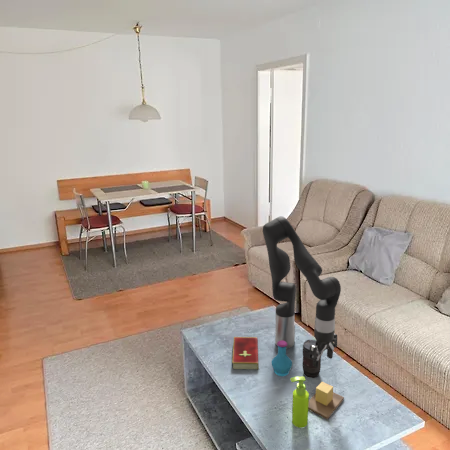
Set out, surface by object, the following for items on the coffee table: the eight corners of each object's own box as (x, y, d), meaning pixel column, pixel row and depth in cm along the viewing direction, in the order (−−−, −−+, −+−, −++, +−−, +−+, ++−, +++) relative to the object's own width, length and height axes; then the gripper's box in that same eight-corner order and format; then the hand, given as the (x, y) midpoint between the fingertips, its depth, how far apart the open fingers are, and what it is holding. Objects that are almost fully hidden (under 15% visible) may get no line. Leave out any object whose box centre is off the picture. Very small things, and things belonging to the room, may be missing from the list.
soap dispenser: (287, 417, 157) (288, 373, 151) (305, 415, 158) (306, 372, 152) (291, 428, 151) (292, 384, 145) (309, 427, 152) (311, 382, 146)
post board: (321, 388, 172) (322, 377, 170) (343, 399, 165) (344, 388, 163) (304, 407, 162) (304, 395, 160) (327, 419, 155) (328, 407, 154)
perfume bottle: (279, 380, 177) (279, 351, 173) (267, 368, 185) (267, 340, 181) (296, 373, 181) (297, 344, 177) (284, 362, 189) (284, 334, 185)
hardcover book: (257, 343, 205) (257, 336, 204) (258, 370, 185) (258, 362, 184) (234, 343, 206) (233, 336, 204) (232, 370, 186) (232, 362, 184)
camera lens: (298, 374, 181) (299, 345, 177) (308, 365, 187) (309, 337, 182) (314, 382, 176) (315, 352, 171) (323, 372, 181) (325, 343, 177)
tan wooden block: (326, 406, 160) (327, 393, 159) (315, 400, 164) (315, 387, 162) (332, 399, 164) (333, 386, 162) (321, 393, 167) (322, 381, 165)
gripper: (328, 316, 162) (326, 350, 167) (304, 329, 154) (303, 365, 159) (344, 323, 157) (341, 359, 162) (320, 338, 148) (318, 374, 153)
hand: (322, 362), depth 160 cm, fingers open, 8 cm apart
